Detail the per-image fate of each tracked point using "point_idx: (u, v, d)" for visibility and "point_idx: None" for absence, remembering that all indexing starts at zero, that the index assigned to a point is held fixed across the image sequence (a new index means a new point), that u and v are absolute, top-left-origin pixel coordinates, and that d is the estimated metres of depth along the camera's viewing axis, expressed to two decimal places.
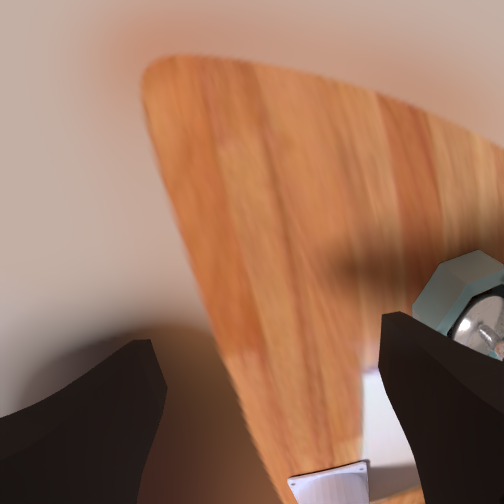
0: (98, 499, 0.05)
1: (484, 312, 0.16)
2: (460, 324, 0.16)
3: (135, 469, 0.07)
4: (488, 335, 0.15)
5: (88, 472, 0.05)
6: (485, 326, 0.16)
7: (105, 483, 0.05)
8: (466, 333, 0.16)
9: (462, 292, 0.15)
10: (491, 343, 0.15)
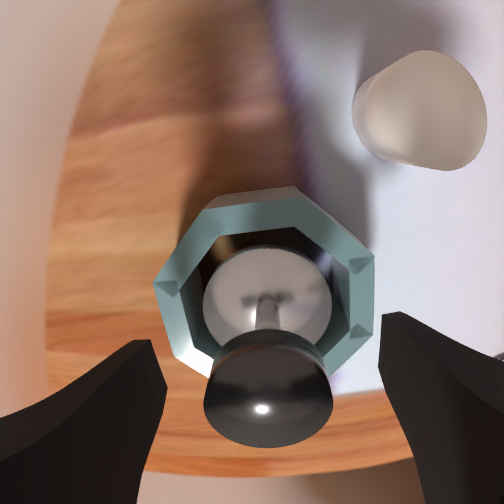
0: (98, 499, 0.05)
1: (228, 317, 0.12)
2: None
3: (135, 469, 0.07)
4: None
5: (88, 472, 0.05)
6: (257, 310, 0.12)
7: (105, 483, 0.05)
8: None
9: (185, 361, 0.13)
10: None
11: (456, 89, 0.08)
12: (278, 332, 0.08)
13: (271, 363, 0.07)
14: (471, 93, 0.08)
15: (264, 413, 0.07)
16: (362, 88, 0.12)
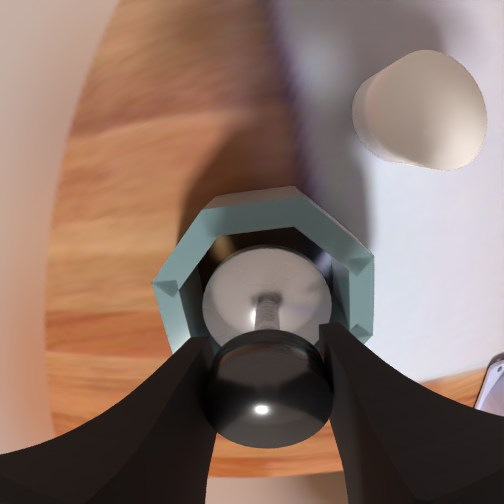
0: None
1: (228, 317, 0.12)
2: None
3: (202, 474, 0.07)
4: None
5: (170, 485, 0.05)
6: (256, 311, 0.12)
7: (183, 494, 0.05)
8: None
9: None
10: None
11: (456, 88, 0.08)
12: (278, 333, 0.08)
13: (271, 364, 0.07)
14: (471, 93, 0.08)
15: (264, 414, 0.07)
16: (362, 88, 0.12)
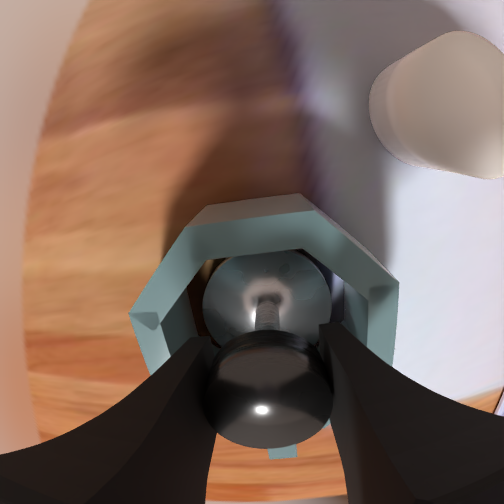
0: None
1: (228, 318, 0.12)
2: None
3: (202, 474, 0.07)
4: None
5: (170, 485, 0.05)
6: (256, 311, 0.12)
7: (183, 494, 0.05)
8: None
9: None
10: None
11: (498, 80, 0.06)
12: (278, 333, 0.08)
13: (271, 364, 0.07)
14: None
15: (264, 414, 0.07)
16: (382, 76, 0.09)
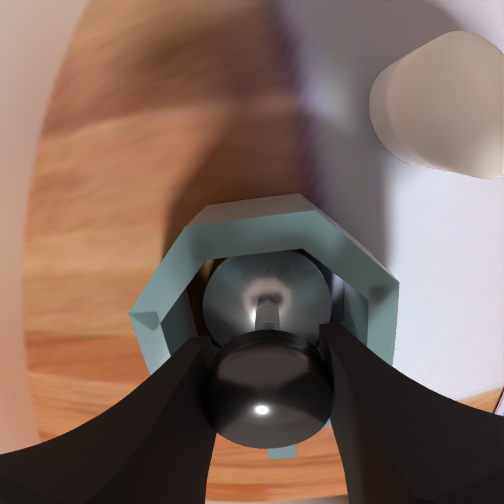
0: None
1: (228, 318, 0.12)
2: None
3: (202, 474, 0.07)
4: None
5: (170, 485, 0.05)
6: (257, 311, 0.12)
7: (183, 494, 0.05)
8: None
9: None
10: None
11: (498, 80, 0.06)
12: (278, 333, 0.08)
13: (271, 364, 0.07)
14: None
15: (264, 414, 0.07)
16: (382, 76, 0.09)
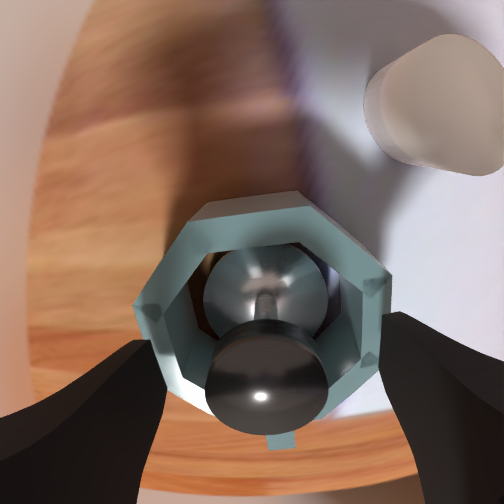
0: (98, 499, 0.05)
1: (228, 311, 0.13)
2: None
3: (135, 468, 0.07)
4: None
5: (88, 472, 0.05)
6: (256, 304, 0.13)
7: (105, 483, 0.05)
8: None
9: (173, 391, 0.11)
10: None
11: (487, 80, 0.06)
12: (276, 322, 0.08)
13: (269, 350, 0.07)
14: (503, 86, 0.06)
15: (263, 400, 0.08)
16: (376, 78, 0.10)
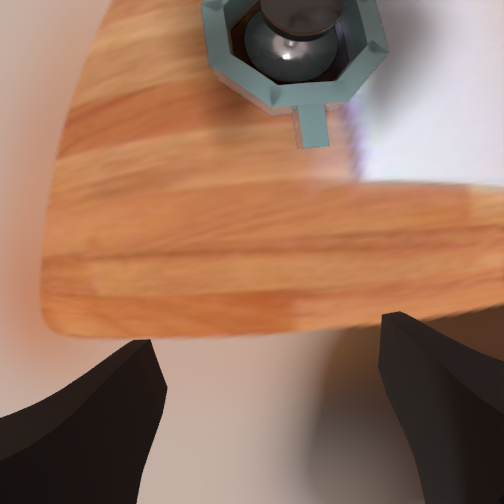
0: (98, 499, 0.05)
1: (263, 43, 0.14)
2: (272, 75, 0.15)
3: (135, 469, 0.07)
4: None
5: (88, 472, 0.05)
6: (284, 38, 0.14)
7: (105, 483, 0.05)
8: (287, 65, 0.15)
9: (219, 69, 0.13)
10: None
11: None
12: None
13: None
14: None
15: None
16: None
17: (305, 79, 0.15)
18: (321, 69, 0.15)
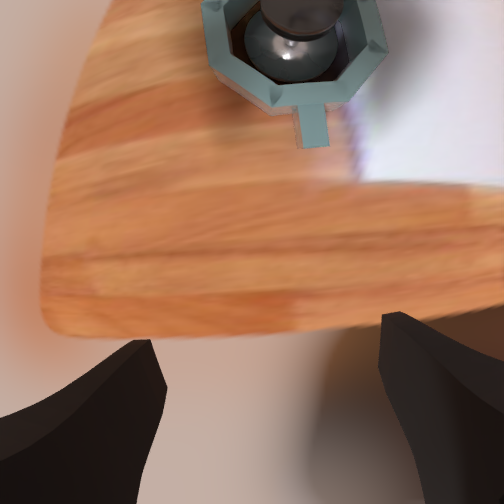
0: (98, 499, 0.05)
1: (263, 43, 0.14)
2: (272, 75, 0.15)
3: (135, 469, 0.07)
4: None
5: (88, 472, 0.05)
6: (284, 38, 0.14)
7: (105, 483, 0.05)
8: (287, 65, 0.15)
9: (219, 69, 0.13)
10: None
11: None
12: None
13: None
14: None
15: None
16: None
17: (305, 79, 0.15)
18: (321, 69, 0.15)
